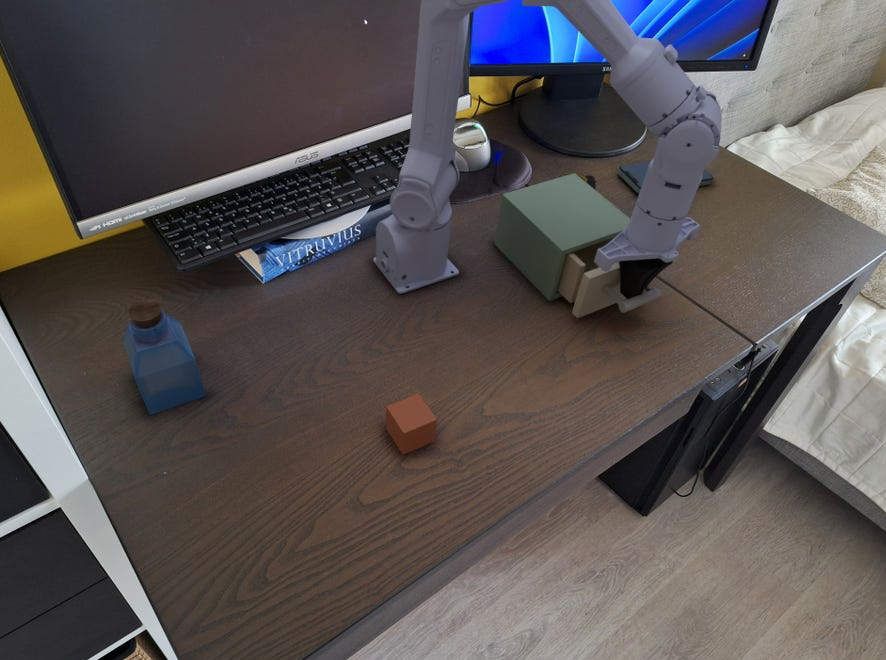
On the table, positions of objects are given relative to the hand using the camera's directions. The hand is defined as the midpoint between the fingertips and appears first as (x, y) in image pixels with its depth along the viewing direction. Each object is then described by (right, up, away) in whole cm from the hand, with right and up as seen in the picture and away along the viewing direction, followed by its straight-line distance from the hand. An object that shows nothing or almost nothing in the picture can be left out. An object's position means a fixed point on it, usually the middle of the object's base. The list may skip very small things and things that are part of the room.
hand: (628, 295), depth 85 cm
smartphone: (+14, +22, +27) cm, 38 cm away
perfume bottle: (-55, -11, -9) cm, 57 cm away
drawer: (-3, +2, +6) cm, 7 cm away
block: (-28, -17, -11) cm, 34 cm away
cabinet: (-7, +6, +11) cm, 15 cm away
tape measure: (-2, +17, +21) cm, 27 cm away
